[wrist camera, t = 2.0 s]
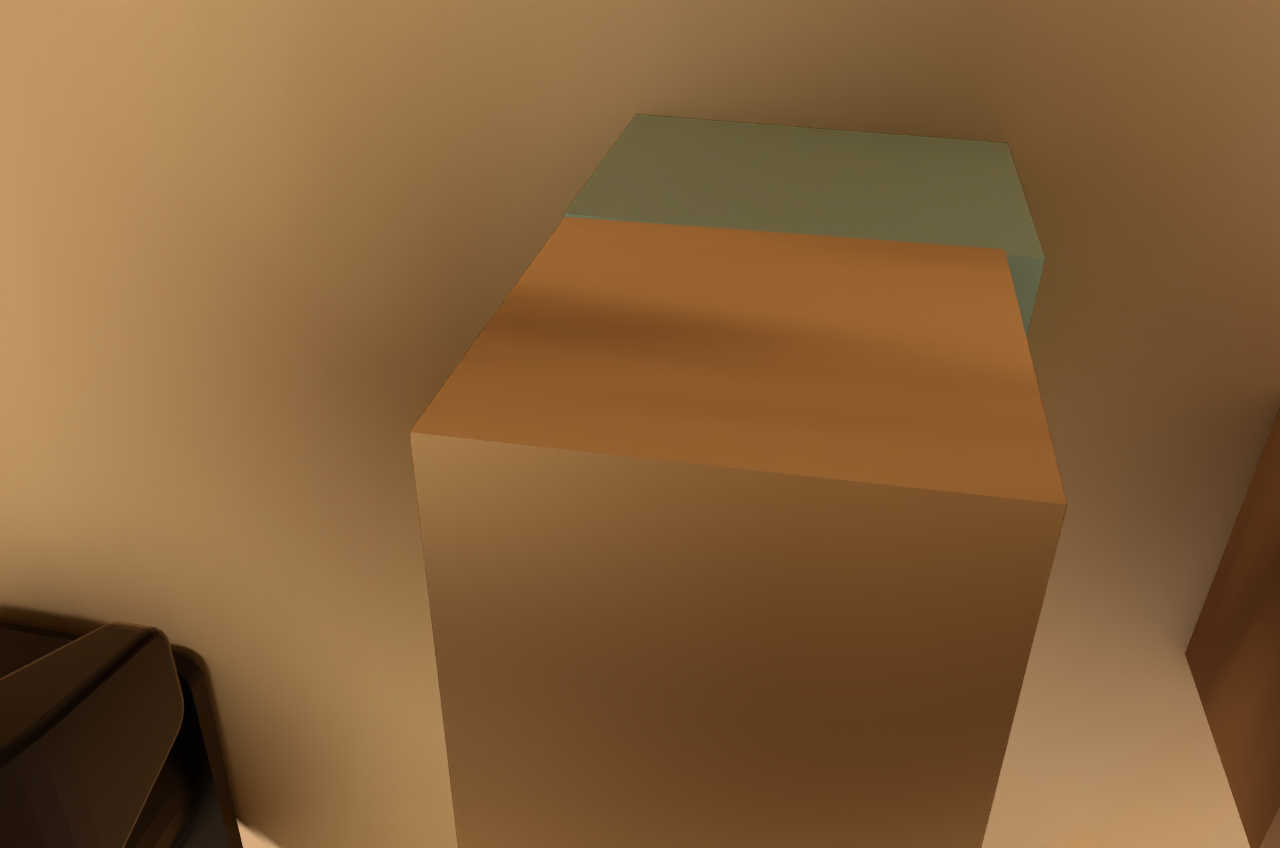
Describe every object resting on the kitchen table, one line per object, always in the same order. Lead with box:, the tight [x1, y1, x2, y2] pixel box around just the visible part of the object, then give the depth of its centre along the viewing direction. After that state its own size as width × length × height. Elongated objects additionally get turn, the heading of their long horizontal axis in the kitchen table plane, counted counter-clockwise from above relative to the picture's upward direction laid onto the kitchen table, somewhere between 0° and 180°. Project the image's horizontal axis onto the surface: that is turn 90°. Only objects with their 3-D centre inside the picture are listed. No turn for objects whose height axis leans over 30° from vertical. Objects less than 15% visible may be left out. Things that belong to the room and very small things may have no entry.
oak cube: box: [410, 216, 1067, 848], centre depth 10 cm, size 4×4×4 cm
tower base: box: [564, 114, 1045, 338], centre depth 14 cm, size 5×5×4 cm
